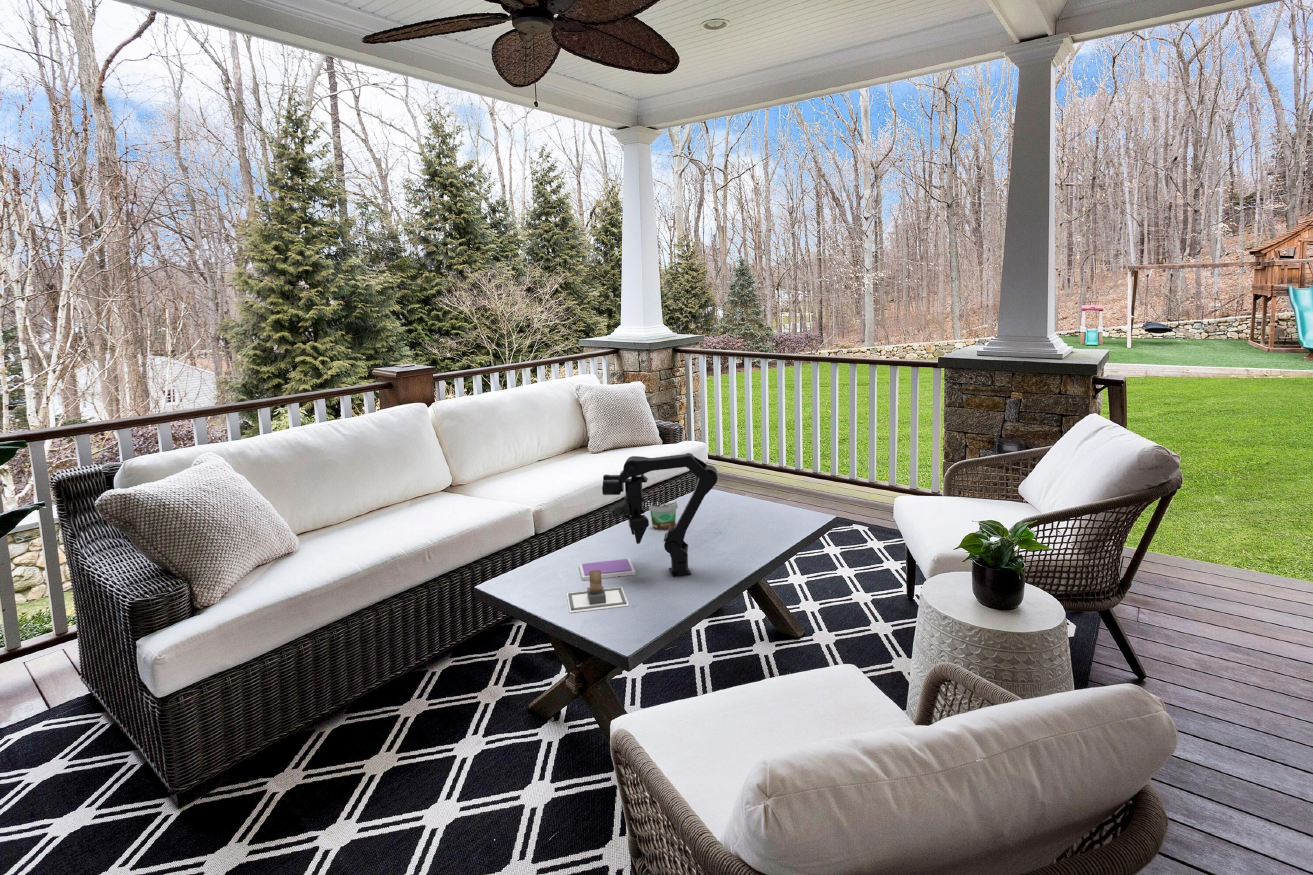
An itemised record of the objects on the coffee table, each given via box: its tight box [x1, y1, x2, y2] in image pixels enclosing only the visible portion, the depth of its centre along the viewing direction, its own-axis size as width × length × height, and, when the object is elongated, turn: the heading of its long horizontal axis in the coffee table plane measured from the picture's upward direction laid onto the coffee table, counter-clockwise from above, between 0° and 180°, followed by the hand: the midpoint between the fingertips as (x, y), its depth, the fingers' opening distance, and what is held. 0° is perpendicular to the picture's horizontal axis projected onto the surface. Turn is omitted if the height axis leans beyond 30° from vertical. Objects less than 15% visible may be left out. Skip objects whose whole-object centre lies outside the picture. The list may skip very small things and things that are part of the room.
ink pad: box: [578, 558, 636, 582], centre depth 238 cm, size 12×18×2 cm, turn 101°
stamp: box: [586, 570, 606, 605], centre depth 215 cm, size 7×5×9 cm
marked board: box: [566, 586, 630, 614], centre depth 215 cm, size 14×18×1 cm
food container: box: [648, 500, 679, 531], centre depth 278 cm, size 12×6×10 cm, turn 112°
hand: (635, 538), depth 233 cm, fingers open, 9 cm apart
